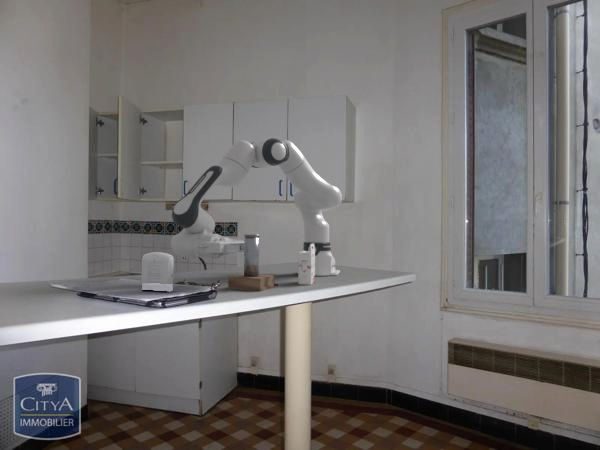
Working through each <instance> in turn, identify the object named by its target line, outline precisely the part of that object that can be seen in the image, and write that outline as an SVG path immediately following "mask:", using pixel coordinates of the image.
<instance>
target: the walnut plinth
mask: <svg viewBox="0 0 600 450" xmlns="http://www.w3.org/2000/svg"><path fill="white" fill-rule="evenodd" d="M227 279H228V283H227V286H228V287H227V289H229V290H240V291H251V292H252V291H254V292H263V291H266V290H270V289H273V288H274V287H275V275H273V274H272V275H271V274H270V275H269V274H268V275H267V274H259V276H258V277H245V276H244V273H241V274H235V275H231V276H228V278H227Z"/></svg>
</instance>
